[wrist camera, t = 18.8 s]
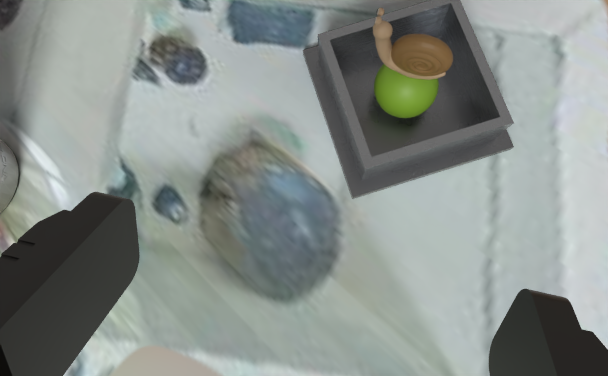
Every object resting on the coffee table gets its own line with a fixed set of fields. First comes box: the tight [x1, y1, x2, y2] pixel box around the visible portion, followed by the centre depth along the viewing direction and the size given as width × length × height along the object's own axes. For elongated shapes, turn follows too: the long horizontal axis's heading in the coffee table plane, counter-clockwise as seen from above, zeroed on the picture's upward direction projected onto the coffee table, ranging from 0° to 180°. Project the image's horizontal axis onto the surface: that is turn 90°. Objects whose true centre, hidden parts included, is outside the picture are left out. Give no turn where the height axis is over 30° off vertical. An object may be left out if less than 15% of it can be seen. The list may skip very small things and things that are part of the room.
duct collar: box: [303, 0, 514, 199], centre depth 40 cm, size 15×15×5 cm
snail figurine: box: [373, 8, 453, 118], centre depth 36 cm, size 5×6×12 cm
